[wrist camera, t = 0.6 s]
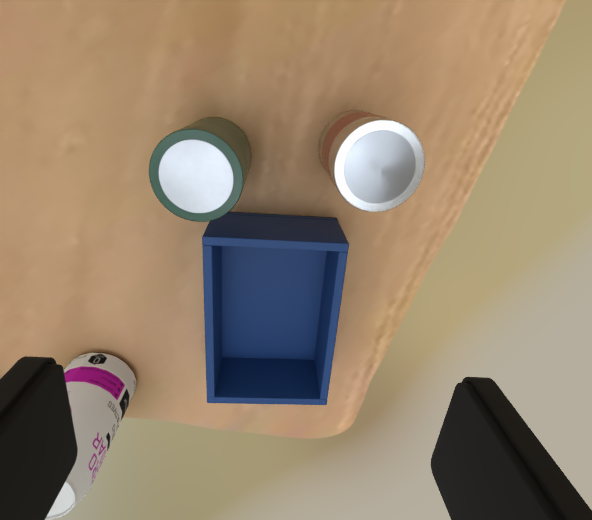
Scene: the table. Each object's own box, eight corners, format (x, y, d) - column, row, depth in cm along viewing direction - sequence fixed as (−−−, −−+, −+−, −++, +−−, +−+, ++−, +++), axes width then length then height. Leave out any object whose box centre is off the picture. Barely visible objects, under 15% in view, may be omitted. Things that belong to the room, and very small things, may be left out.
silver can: (322, 107, 35) (339, 115, 26) (392, 112, 36) (434, 122, 26) (315, 179, 38) (329, 210, 29) (380, 183, 39) (415, 215, 29)
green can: (180, 114, 35) (144, 125, 26) (252, 119, 36) (244, 132, 26) (183, 185, 38) (152, 219, 28) (250, 189, 38) (242, 224, 29)
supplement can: (55, 358, 45) (-39, 475, 32) (120, 341, 45) (53, 453, 31) (88, 407, 49) (15, 532, 35) (149, 392, 48) (99, 513, 35)
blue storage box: (214, 210, 39) (202, 236, 32) (336, 217, 40) (349, 243, 33) (216, 357, 47) (206, 403, 40) (319, 360, 48) (326, 405, 41)
